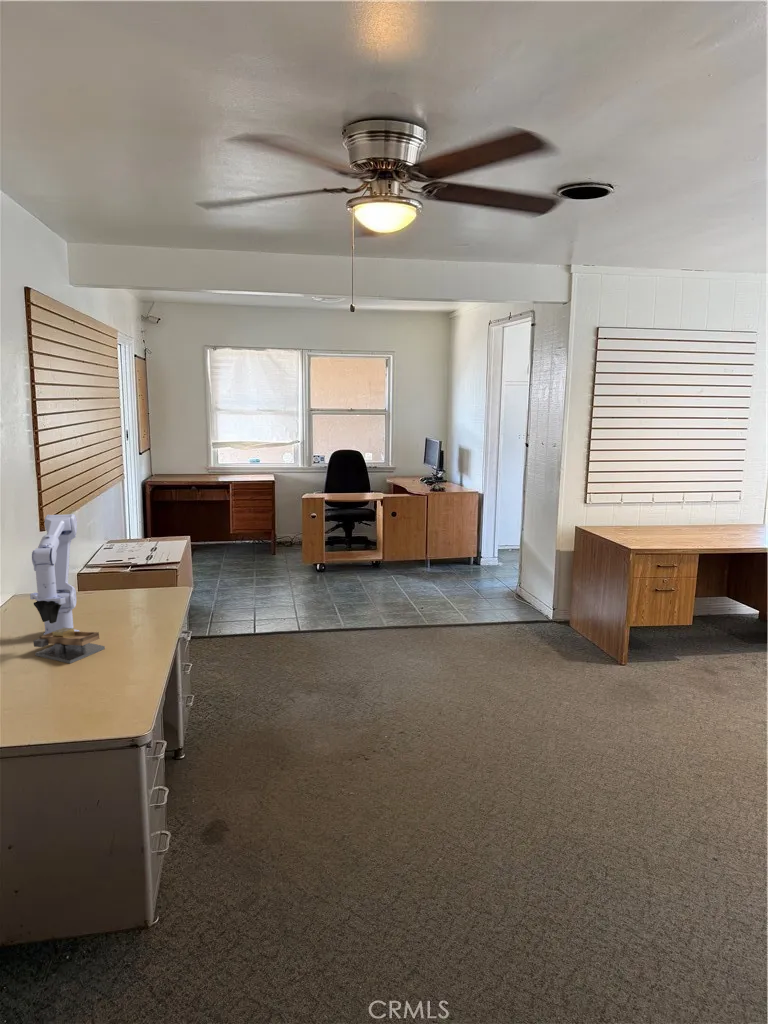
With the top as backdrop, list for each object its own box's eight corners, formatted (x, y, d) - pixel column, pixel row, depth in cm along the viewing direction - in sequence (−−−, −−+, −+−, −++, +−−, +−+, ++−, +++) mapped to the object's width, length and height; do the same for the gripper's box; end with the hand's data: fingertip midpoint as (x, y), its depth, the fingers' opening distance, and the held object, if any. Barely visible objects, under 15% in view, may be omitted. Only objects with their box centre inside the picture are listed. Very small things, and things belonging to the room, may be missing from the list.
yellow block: (53, 639, 218) (52, 631, 218) (64, 634, 222) (63, 627, 222) (63, 639, 216) (62, 632, 216) (74, 635, 220) (73, 628, 220)
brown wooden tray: (34, 646, 217) (32, 639, 217) (63, 635, 228) (62, 628, 227) (76, 649, 209) (75, 641, 208) (105, 637, 219) (104, 630, 219)
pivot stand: (35, 655, 216) (34, 642, 215) (71, 641, 228) (70, 629, 228) (70, 663, 209) (69, 650, 208) (104, 648, 222) (103, 636, 221)
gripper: (20, 583, 218) (24, 622, 220) (51, 588, 212) (54, 628, 214) (39, 578, 224) (42, 616, 226) (69, 583, 218) (72, 622, 221)
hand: (49, 621), depth 221 cm, fingers open, 3 cm apart
